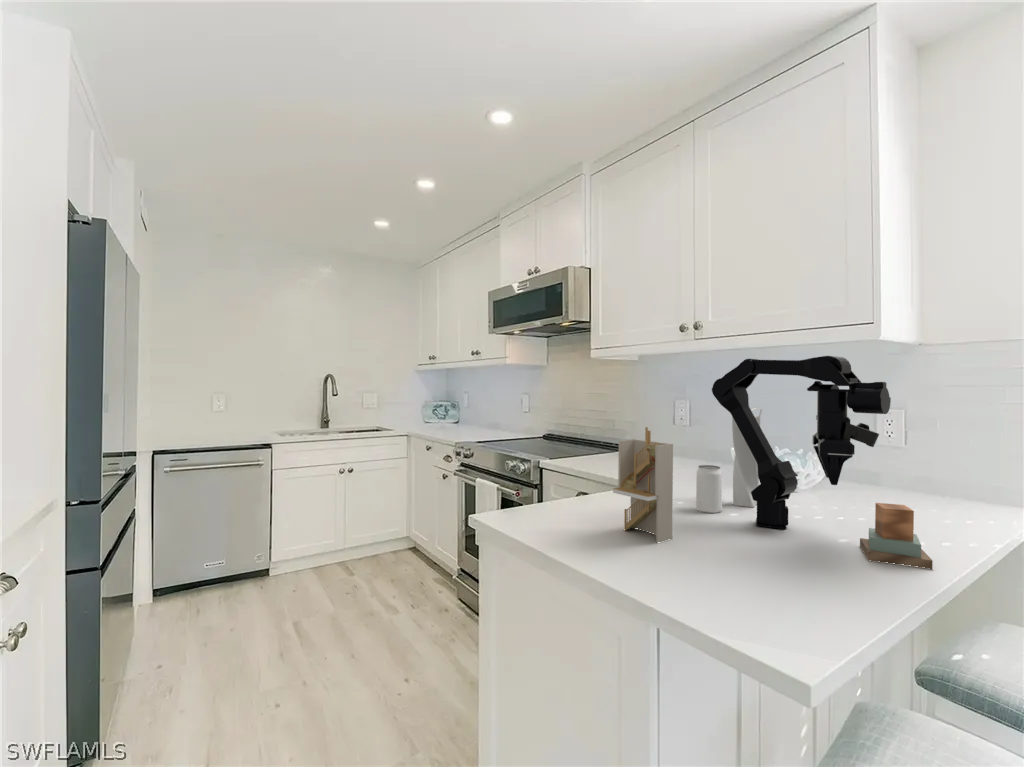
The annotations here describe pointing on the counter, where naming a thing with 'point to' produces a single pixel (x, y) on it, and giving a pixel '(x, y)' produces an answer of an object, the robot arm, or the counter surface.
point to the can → (709, 489)
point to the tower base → (895, 556)
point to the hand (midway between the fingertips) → (831, 481)
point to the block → (894, 521)
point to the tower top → (894, 545)
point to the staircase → (647, 485)
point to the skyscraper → (744, 468)
